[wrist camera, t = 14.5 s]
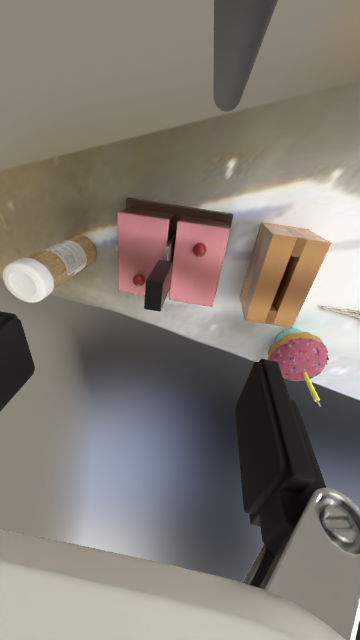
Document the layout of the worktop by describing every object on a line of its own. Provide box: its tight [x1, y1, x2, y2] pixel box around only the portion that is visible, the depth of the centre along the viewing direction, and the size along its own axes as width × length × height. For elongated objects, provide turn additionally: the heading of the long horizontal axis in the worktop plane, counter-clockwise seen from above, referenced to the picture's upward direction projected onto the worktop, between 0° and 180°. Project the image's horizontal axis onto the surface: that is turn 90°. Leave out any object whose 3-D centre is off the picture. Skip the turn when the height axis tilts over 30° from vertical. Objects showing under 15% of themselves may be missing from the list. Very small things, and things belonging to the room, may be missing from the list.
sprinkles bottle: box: [3, 235, 96, 303], centre depth 30 cm, size 5×5×13 cm
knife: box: [144, 232, 176, 311], centre depth 28 cm, size 6×2×14 cm, turn 173°
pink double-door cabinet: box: [117, 198, 233, 307], centre depth 31 cm, size 12×14×7 cm
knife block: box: [240, 223, 331, 328], centre depth 31 cm, size 11×6×7 cm, turn 173°
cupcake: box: [268, 329, 329, 407], centre depth 35 cm, size 9×8×12 cm
